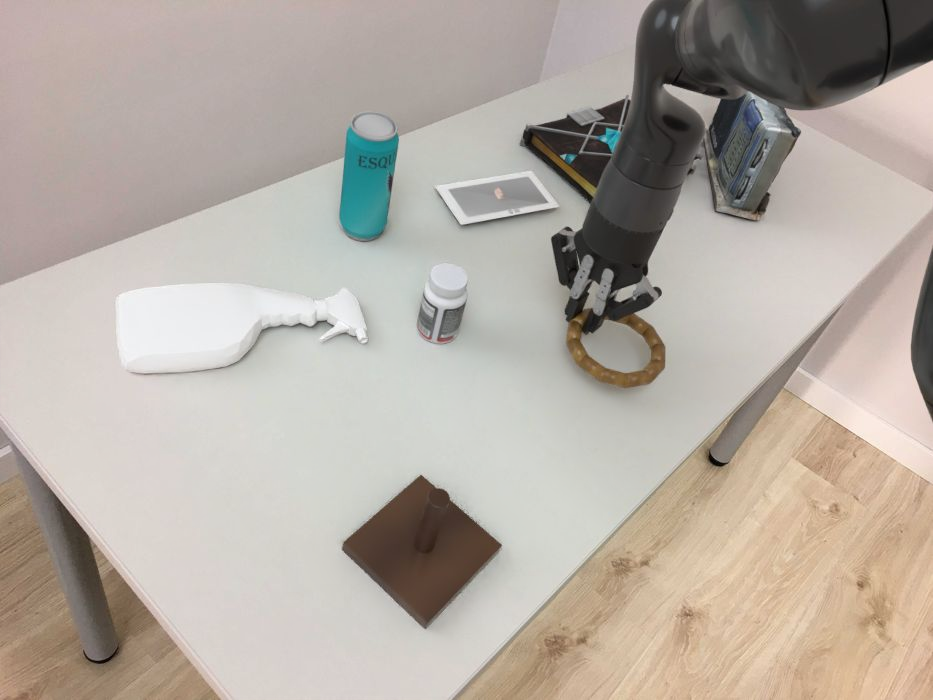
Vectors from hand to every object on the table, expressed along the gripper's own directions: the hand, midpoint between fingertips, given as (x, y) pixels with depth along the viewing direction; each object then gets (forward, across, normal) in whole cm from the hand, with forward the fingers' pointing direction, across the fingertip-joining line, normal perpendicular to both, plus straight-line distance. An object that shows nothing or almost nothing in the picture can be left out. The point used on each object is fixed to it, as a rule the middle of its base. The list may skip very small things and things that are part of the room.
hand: (580, 324), depth 89 cm
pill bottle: (+3, -11, -11) cm, 16 cm away
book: (+3, -18, +34) cm, 38 cm away
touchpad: (+3, -22, +12) cm, 25 cm away
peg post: (+3, +6, -32) cm, 33 cm away
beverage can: (+3, -28, -6) cm, 29 cm away
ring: (-1, +5, 0) cm, 5 cm away
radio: (+3, -5, +47) cm, 47 cm away
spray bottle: (+3, -24, -27) cm, 37 cm away
